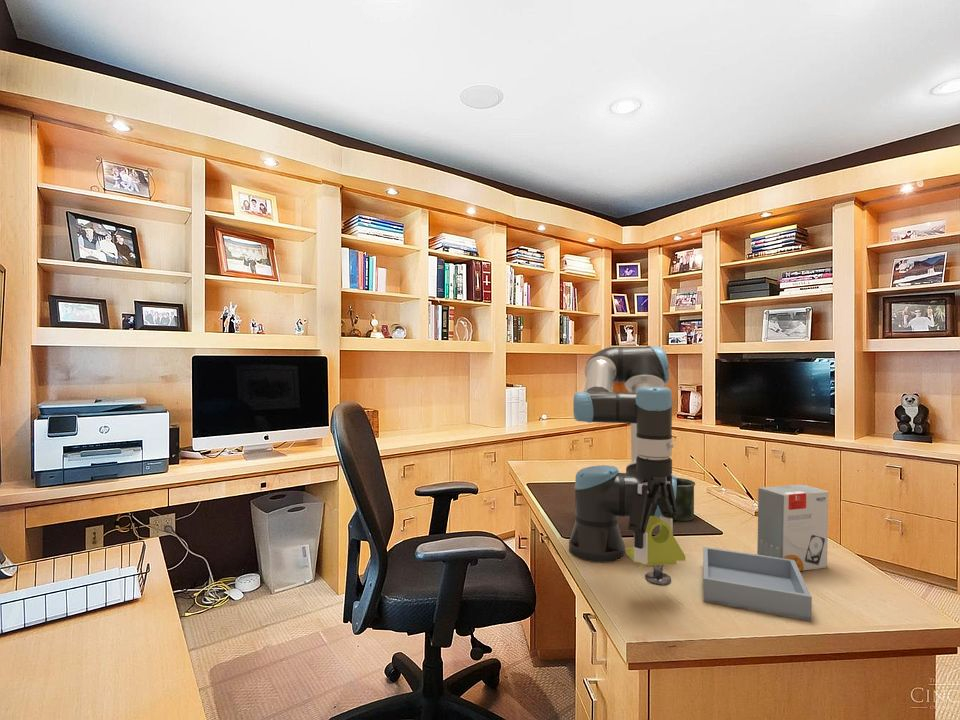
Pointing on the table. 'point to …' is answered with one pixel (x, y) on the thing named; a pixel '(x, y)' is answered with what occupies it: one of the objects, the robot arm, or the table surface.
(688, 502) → the mug
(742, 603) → the bin
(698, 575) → the table surface
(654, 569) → the ball stud
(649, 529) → the bracket
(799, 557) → the hard drive box
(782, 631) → the table surface
